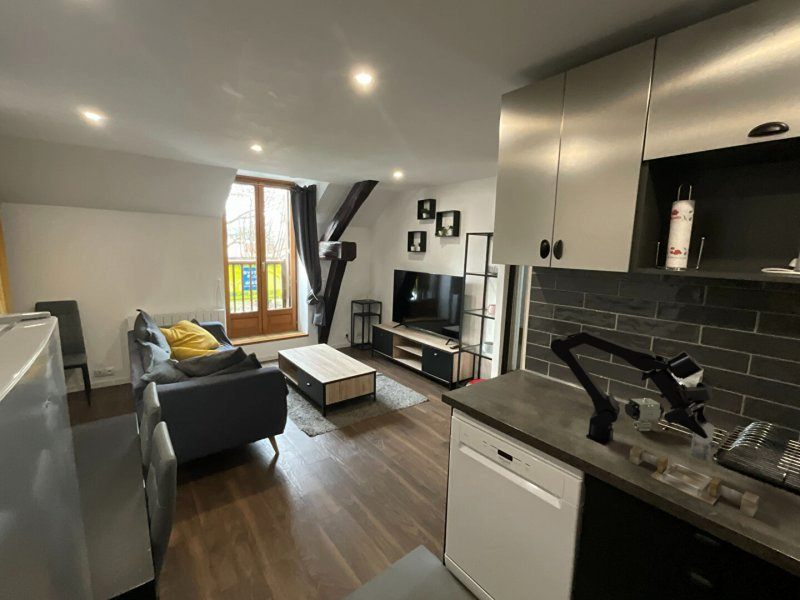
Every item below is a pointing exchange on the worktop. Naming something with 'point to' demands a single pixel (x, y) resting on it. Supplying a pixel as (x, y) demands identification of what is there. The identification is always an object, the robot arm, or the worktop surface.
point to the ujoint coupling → (702, 442)
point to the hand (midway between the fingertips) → (709, 435)
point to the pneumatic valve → (644, 412)
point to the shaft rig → (694, 482)
